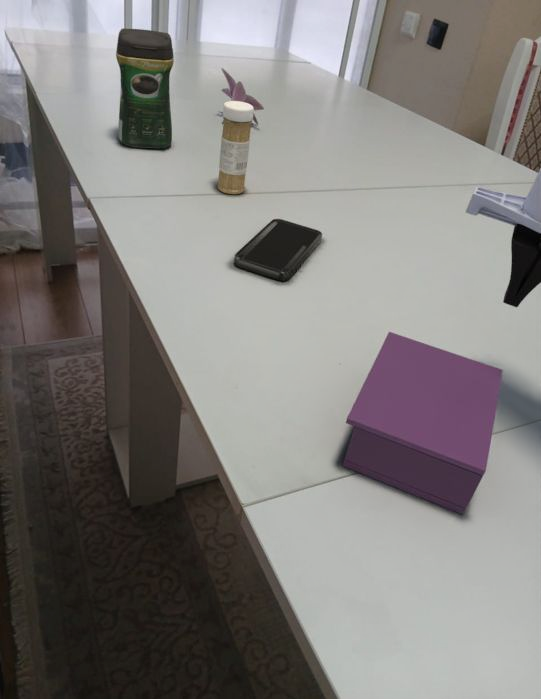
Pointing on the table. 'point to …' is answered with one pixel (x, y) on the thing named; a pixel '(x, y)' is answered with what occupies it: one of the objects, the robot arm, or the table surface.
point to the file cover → (430, 402)
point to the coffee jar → (145, 88)
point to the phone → (278, 249)
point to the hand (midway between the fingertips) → (511, 300)
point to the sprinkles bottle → (234, 146)
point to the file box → (411, 470)
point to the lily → (240, 94)
